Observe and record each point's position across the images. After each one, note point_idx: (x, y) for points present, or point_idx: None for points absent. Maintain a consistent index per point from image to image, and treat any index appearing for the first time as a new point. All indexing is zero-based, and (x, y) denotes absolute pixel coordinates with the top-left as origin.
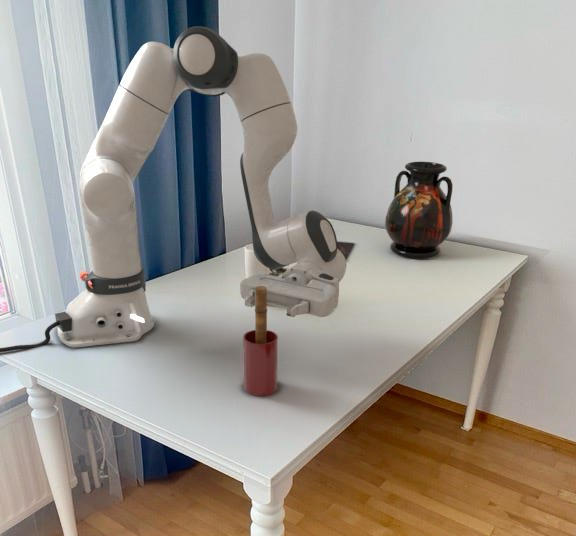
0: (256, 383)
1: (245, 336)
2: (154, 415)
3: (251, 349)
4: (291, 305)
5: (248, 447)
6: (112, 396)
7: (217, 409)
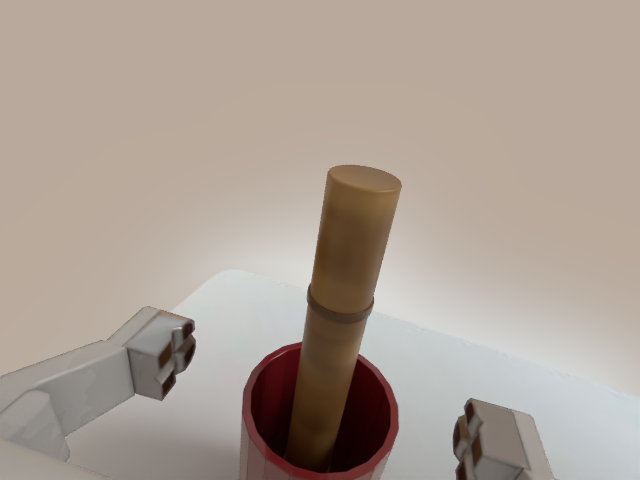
0: None
1: (386, 402)
2: (461, 349)
3: None
4: (153, 345)
5: (267, 301)
6: (587, 390)
7: None
